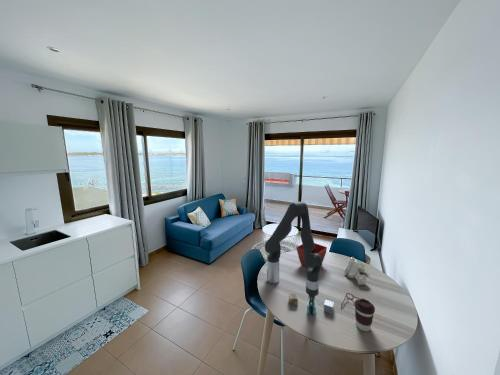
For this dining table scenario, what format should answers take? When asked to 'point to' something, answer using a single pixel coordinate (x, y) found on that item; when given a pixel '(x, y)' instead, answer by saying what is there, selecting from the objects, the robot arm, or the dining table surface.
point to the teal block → (313, 308)
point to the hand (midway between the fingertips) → (311, 309)
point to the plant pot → (318, 249)
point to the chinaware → (356, 271)
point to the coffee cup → (364, 314)
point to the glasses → (349, 298)
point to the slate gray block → (328, 306)
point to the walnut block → (293, 299)
